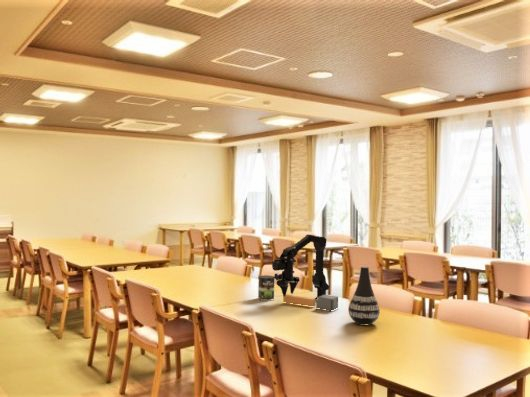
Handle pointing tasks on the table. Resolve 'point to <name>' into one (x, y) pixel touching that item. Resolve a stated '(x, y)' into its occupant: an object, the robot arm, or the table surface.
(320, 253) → the robot arm
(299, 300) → the orange rectangular bar
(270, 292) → the coffee can
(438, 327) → the table surface
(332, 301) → the dispenser
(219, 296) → the table surface
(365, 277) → the vase
